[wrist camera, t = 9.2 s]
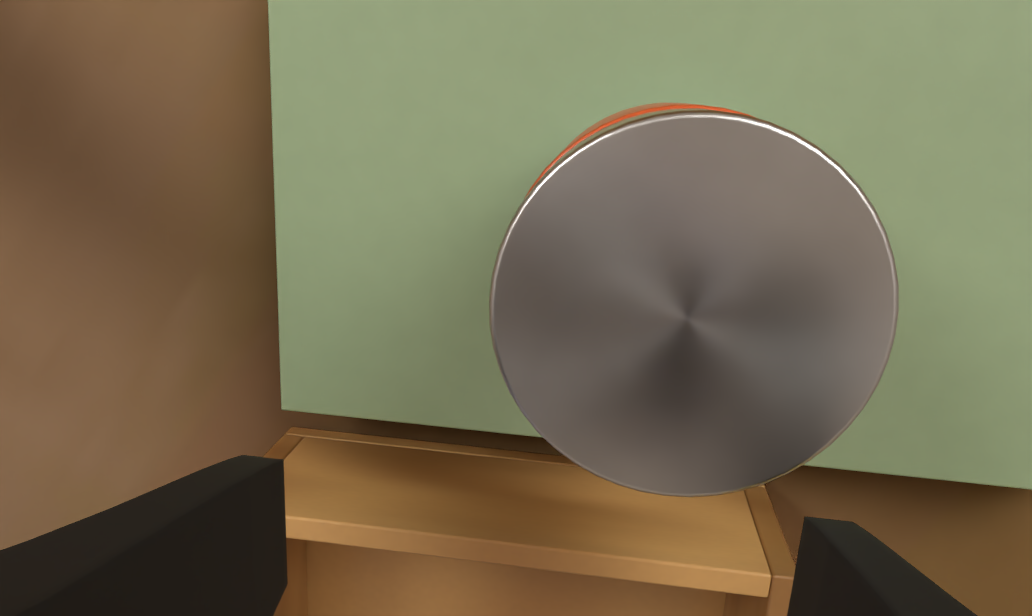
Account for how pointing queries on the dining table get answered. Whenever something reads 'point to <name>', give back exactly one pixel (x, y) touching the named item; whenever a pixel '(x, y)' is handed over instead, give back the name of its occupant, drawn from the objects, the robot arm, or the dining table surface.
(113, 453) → the dining table surface
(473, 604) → the wooden box
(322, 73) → the stand
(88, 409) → the dining table surface
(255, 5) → the dining table surface
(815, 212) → the can
